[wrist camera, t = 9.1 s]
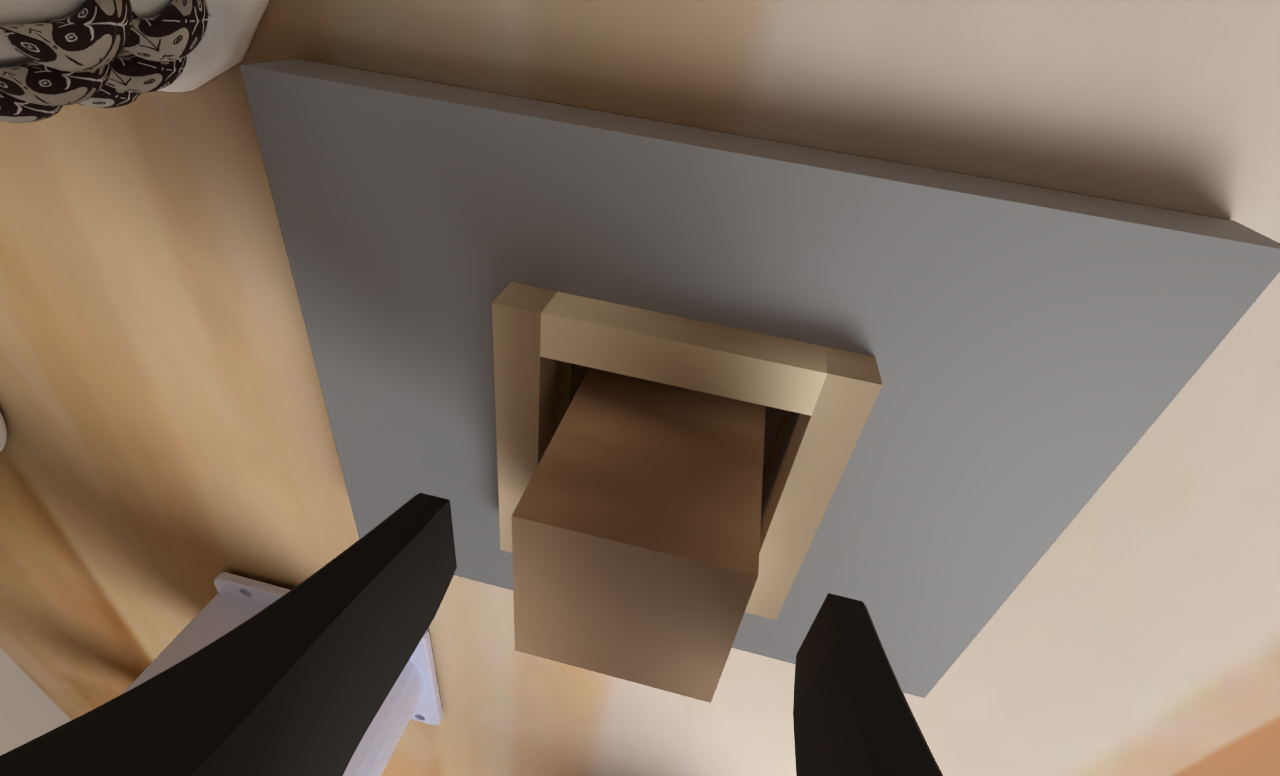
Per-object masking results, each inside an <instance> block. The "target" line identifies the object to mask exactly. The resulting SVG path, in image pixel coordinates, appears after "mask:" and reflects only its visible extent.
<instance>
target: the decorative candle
mask: <svg viewBox="0 0 1280 776" xmlns="http://www.w3.org/2000/svg"><path fill="white" fill-rule="evenodd" d="M269 1H270V0H0V121H4V122H13V123H27V122H36V121H40V120H43V119H46V118H49V117H51V116H53V115H55V114H57V113H58V112H59V111H60V110H61V108H62V107H63V106H65V105H72V104H75V103H78V104H81V105H85V106H89V107H95V108H115V107H120V106H124V105H127V104H129V103H131V102H133V101H135V100H136V98H137V97H138V96H139V95H140V94H141V93H146V92H153V91H167V92H187V91H193V90H195V89H197V88H198V87H200V86H202V85H203V84H205V83H207V82H208V81H210V80H212V79H213V78H215V77H217V76H218V75H220V74H221V73H223V72H225V71H226V70H228V69H230V68H231V67H233V66H235V65H236V64H238V63H240V62H241V61H243V59H244V57H245V55H246V52H247V50H248V48H249V46H250V43H251V41H252V39H253V37H254V35H255V32H256V30H257V28H258V26H259V23H260V21H261V19H262V17H263V14H264V12H265V10H266V8H267V6H268V3H269Z"/></svg>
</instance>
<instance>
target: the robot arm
mask: <svg viewBox="0 0 1280 776" xmlns="http://www.w3.org/2000/svg"><path fill="white" fill-rule="evenodd" d="M456 568H457V564H456V554H455V544H454V535H453V525H452V515H451V506H450V500H448V499H444V498H440V497H436V496H432V495H428V494H424V493H419V494H417V495H415V496H414V497H413V498H411V499H410V500H409V501H408V502H406V503H405V504H404V505H403V506H401V507H400V508H399V509H398V510H396V511H395V512H394V513H393V514H391V515H390V516H389V517H388V518H386V519H385V520H384V521H382V522H381V523H380V524H379V525H377V526H376V527H375V528H374V529H372V530H371V531H370V532H369V533H367V534H366V535H365V536H363V537H362V538H361V539H360V540H358V541H357V542H356V543H354V544H353V545H352V546H351V547H349V548H348V549H347V550H345V551H344V552H343V553H341V554H340V555H339V556H337V557H336V558H335V559H333V560H332V561H331V562H329V563H328V564H326V565H325V566H324V567H322V568H321V569H320V570H318V571H317V572H316V573H314V574H313V575H312V576H310V577H309V578H308V579H306V580H305V581H303V582H302V583H301V584H299V585H298V586H296V587H295V588H293V589H292V590H290V589H286V588H282V587H279V586H275V585H271V584H268V583H264V582H260V581H257V580H253V579H249V578H246V577H242V576H238V575H235V574H231V573H226V572H223V573H220V574H219V575H218V576H217V577H216V578H215V579H214V585H215V587H216V589H217V591H218V593H217V594H216V596H215V597H214V598H213V599H212V600H211V601H210V602H209V603H208V604H207V605H206V606H205V607H204V608H203V609H202V610H201V611H200V612H199V613H198V614H197V616H196V617H195V618H194V619H193V620H192V621H191V622H190V623H189V624H188V625H187V626H186V627H185V628H184V629H183V630H182V631H181V632H180V633H179V635H178V636H177V637H176V638H175V639H174V640H173V641H172V642H171V643H170V644H169V645H168V646H167V647H166V648H165V649H164V650H163V651H162V652H161V653H160V655H159V656H158V657H157V658H156V659H155V660H154V661H153V662H152V663H151V664H150V665H149V666H148V667H147V668H146V669H145V670H144V671H143V672H142V673H141V675H140V676H139V677H138V678H137V679H136V680H135V681H134V682H133V683H132V684H131V685H130V686H129V687H128V688H127V689H126V690H125V691H124V692H123V694H122V695H120V696H118V697H116V698H114V699H112V700H111V701H109V702H107V703H105V704H103V705H101V706H99V707H97V708H96V709H94V710H92V711H90V712H88V713H86V714H84V715H82V716H80V717H78V718H76V719H74V720H72V721H70V722H68V723H66V724H64V725H62V726H60V727H58V728H56V729H54V730H52V731H50V732H48V733H46V734H44V735H42V736H40V737H38V738H36V739H34V740H32V741H30V742H28V743H26V744H24V745H22V746H20V747H18V748H15V749H14V750H11V751H9V752H7V753H5V754H3V755H1V756H0V776H381V775H382V773H383V771H384V769H385V767H386V765H387V763H388V761H389V760H390V758H391V756H392V754H393V752H394V750H395V748H396V746H397V744H398V742H399V740H400V738H401V736H402V734H403V732H404V730H405V729H406V727H407V725H408V723H409V721H410V719H413V720H416V721H420V722H423V723H427V724H430V725H438V724H440V722H441V719H442V717H443V713H442V707H441V701H440V695H439V689H438V683H437V678H436V672H435V666H434V660H433V654H432V648H431V642H430V636H429V633H428V631H427V629H428V627H429V625H430V624H431V622H432V620H433V619H434V617H435V615H436V612H437V610H438V608H439V606H440V604H441V602H442V600H443V597H444V595H445V593H446V591H447V589H448V586H449V584H450V582H451V579H452V577H453V575H454V573H455V570H456ZM793 716H794V736H795V754H796V771H797V776H943V775H942V773H941V771H940V769H939V767H938V765H937V763H936V761H935V759H934V757H933V755H932V753H931V751H930V749H929V747H928V745H927V743H926V741H925V739H924V736H923V734H922V732H921V730H920V728H919V726H918V724H917V722H916V720H915V718H914V716H913V714H912V712H911V709H910V707H909V705H908V703H907V701H906V699H905V696H904V694H903V692H902V690H901V688H900V685H899V683H898V681H897V679H896V676H895V674H894V672H893V670H892V667H891V665H890V663H889V660H888V658H887V656H886V653H885V651H884V649H883V646H882V644H881V641H880V639H879V637H878V634H877V632H876V629H875V627H874V624H873V622H872V619H871V617H870V614H869V612H868V609H867V607H866V606H865V604H864V603H863V601H859V600H855V599H851V598H847V597H843V596H838V595H834V594H830V593H828V594H827V596H826V598H825V600H824V602H823V604H822V606H821V608H820V610H819V612H818V614H817V616H816V618H815V620H814V622H813V623H812V625H811V627H810V629H809V631H808V633H807V635H806V637H805V639H804V641H803V643H802V645H801V647H800V649H799V650H798V652H797V654H796V668H795V686H794V710H793Z"/></svg>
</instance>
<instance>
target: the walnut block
mask: <svg viewBox="0 0 1280 776" xmlns="http://www.w3.org/2000/svg"><path fill="white" fill-rule="evenodd" d="M765 411H766V406H764V405H759V404H755V403H750V402H746V401H741V400H737V399H732V398H727V397H723V396H718V395H714V394H709V393H705V392H700V391H695V390H691V389H686V388H682V387H677V386H673V385H668V384H663V383H659V382H654V381H650V380H645V379H641V378H636V377H631V376H627V375H622V374H618V373H613V372H609V371H604V370H599V369H595V368H590V367H589V369H588V371H587V373H586V375H585V377H584V379H583V381H582V382H581V384H580V386H579V388H578V390H577V392H576V394H575V396H574V398H573V400H572V402H571V403H570V405H569V407H568V409H567V411H566V413H565V415H564V417H563V419H562V421H561V423H560V424H559V426H558V428H557V430H556V432H555V434H554V436H553V438H552V440H551V442H550V443H549V445H548V447H547V449H546V451H545V453H544V455H543V457H542V459H541V461H540V463H539V464H538V466H537V468H536V470H535V472H534V474H533V476H532V478H531V480H530V482H529V483H528V485H527V487H526V489H525V491H524V493H523V495H522V497H521V499H520V501H519V503H518V504H517V506H516V508H515V510H514V512H513V514H512V552H513V588H514V624H515V650H516V651H520V652H524V653H528V654H531V655H535V656H539V657H542V658H546V659H550V660H554V661H557V662H561V663H565V664H569V665H572V666H576V667H580V668H584V669H587V670H591V671H595V672H598V673H602V674H606V675H610V676H613V677H617V678H621V679H625V680H628V681H632V682H636V683H639V684H643V685H647V686H651V687H654V688H658V689H662V690H666V691H669V692H673V693H677V694H680V695H684V696H688V697H692V698H695V699H699V700H703V701H707V702H710V703H711V700H712V698H713V695H714V692H715V690H716V687H717V684H718V682H719V679H720V676H721V674H722V671H723V668H724V666H725V663H726V660H727V658H728V655H729V652H730V650H731V647H732V644H733V642H734V639H735V636H736V634H737V631H738V628H739V626H740V623H741V621H742V618H743V615H744V613H745V610H746V607H747V605H748V602H749V599H750V597H751V594H752V591H753V589H754V586H755V583H756V581H757V578H758V571H759V548H760V525H761V502H762V479H763V456H764V433H765Z"/></svg>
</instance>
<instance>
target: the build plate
mask: <svg viewBox="0 0 1280 776" xmlns="http://www.w3.org/2000/svg"><path fill="white" fill-rule="evenodd" d="M239 66H240V70H241V74H242V78H243V82H244V86H245V90H246V94H247V97H248V101H249V105H250V109H251V113H252V117H253V121H254V125H255V129H256V133H257V137H258V141H259V145H260V149H261V153H262V157H263V161H264V164H265V168H266V172H267V176H268V180H269V184H270V188H271V192H272V196H273V200H274V204H275V208H276V212H277V216H278V220H279V224H280V228H281V231H282V235H283V239H284V243H285V247H286V251H287V255H288V259H289V263H290V267H291V271H292V275H293V279H294V283H295V287H296V291H297V295H298V298H299V302H300V306H301V310H302V314H303V318H304V322H305V326H306V330H307V334H308V338H309V342H310V346H311V350H312V354H313V358H314V362H315V365H316V369H317V373H318V377H319V381H320V385H321V389H322V393H323V397H324V401H325V405H326V409H327V413H328V417H329V421H330V425H331V429H332V432H333V436H334V440H335V444H336V448H337V452H338V456H339V460H340V464H341V468H342V472H343V476H344V480H345V484H346V488H347V492H348V496H349V500H350V503H351V507H352V511H353V515H354V519H355V523H356V527H357V531H358V535H359V539H361V538H362V537H363V536H365V535H366V534H367V533H369V532H370V531H371V530H372V529H374V528H375V527H376V526H377V525H379V524H380V523H381V522H382V521H384V520H385V519H386V518H388V517H389V516H390V515H391V514H393V513H394V512H395V511H396V510H398V509H399V508H400V507H401V506H403V505H404V504H405V503H406V502H408V501H409V500H410V499H411V498H413V497H414V496H415V495H417V494H419V493H424V494H428V495H432V496H436V497H440V498H444V499H448V500H450V506H451V515H452V525H453V535H454V544H455V554H456V564H457V568H456V570H455V573H454V575H457V576H460V577H464V578H468V579H472V580H476V581H480V582H483V583H487V584H491V585H495V586H499V587H502V588H506V589H510V590H514V588H513V552H512V514H513V512H514V510H515V508H516V506H517V504H518V503H519V501H520V499H521V497H522V495H523V493H524V491H525V489H526V487H527V485H528V483H529V482H530V480H531V478H532V476H533V474H534V472H535V470H536V468H537V466H538V464H539V463H540V461H541V459H542V457H543V455H544V453H545V451H546V449H547V447H548V445H549V443H550V442H551V440H552V438H553V436H554V434H555V432H556V430H557V428H558V426H559V424H560V423H561V421H562V419H563V417H564V415H565V413H566V411H567V409H568V407H569V405H570V395H571V379H572V364H577V365H581V366H586V367H590V368H595V369H599V370H604V371H609V372H613V373H618V374H622V375H627V376H631V377H636V378H641V379H645V380H650V381H654V382H659V383H663V384H668V385H673V386H677V387H682V388H686V389H691V390H695V391H700V392H705V393H709V394H714V395H718V396H723V397H727V398H732V399H737V400H741V401H746V402H750V403H755V404H759V405H764V406H769V407H773V408H778V409H782V410H787V411H786V414H785V417H784V420H783V423H782V426H781V428H780V431H779V434H778V437H777V440H776V443H775V446H774V449H773V452H772V455H771V458H770V460H769V463H768V466H767V469H766V472H765V475H764V478H763V481H762V502H761V525H760V548H759V571H758V578H757V581H756V583H755V586H754V589H753V591H752V594H751V597H750V599H749V602H748V605H747V607H746V610H745V613H744V615H743V618H742V621H741V623H740V626H739V628H738V631H737V634H736V636H735V639H734V642H733V644H732V648H736V649H740V650H743V651H747V652H751V653H755V654H759V655H762V656H766V657H770V658H774V659H778V660H782V661H785V662H789V663H793V664H796V654H797V652H798V650H799V649H800V647H801V645H802V643H803V641H804V639H805V637H806V635H807V633H808V631H809V629H810V627H811V625H812V623H813V622H814V620H815V618H816V616H817V614H818V612H819V610H820V608H821V606H822V604H823V602H824V600H825V598H826V596H827V594H828V593H830V594H834V595H838V596H843V597H847V598H851V599H855V600H859V601H863V603H864V604H865V606H866V607H867V609H868V612H869V614H870V617H871V619H872V622H873V624H874V627H875V629H876V632H877V634H878V637H879V639H880V641H881V644H882V646H883V649H884V651H885V653H886V656H887V658H888V660H889V663H890V665H891V667H892V670H893V672H894V674H895V676H896V679H897V681H898V683H899V685H900V688H901V690H902V692H904V693H908V694H912V695H915V696H919V697H923V698H925V697H926V696H927V694H928V693H929V692H930V691H931V690H932V688H933V687H934V686H935V685H936V684H937V682H938V681H939V680H940V679H941V678H942V676H943V675H944V674H945V673H946V672H947V670H948V669H949V668H950V667H951V666H952V664H953V663H954V662H955V661H956V660H957V658H958V657H959V656H960V655H961V654H962V652H963V651H964V650H965V649H966V648H967V646H968V645H969V644H970V643H971V642H972V640H973V639H974V638H975V637H976V636H977V634H978V633H979V632H980V631H981V630H982V628H983V627H984V626H985V625H986V624H987V622H988V621H989V620H990V619H991V618H992V616H993V615H994V614H995V613H996V612H997V610H998V609H999V608H1000V607H1001V606H1002V604H1003V603H1004V602H1005V601H1006V600H1007V598H1008V597H1009V596H1010V595H1011V594H1012V592H1013V591H1014V590H1015V589H1016V588H1017V586H1018V585H1019V584H1020V583H1021V582H1022V580H1023V579H1024V578H1025V577H1026V576H1027V574H1028V573H1029V572H1030V571H1031V570H1032V568H1033V567H1034V566H1035V565H1036V564H1037V562H1038V561H1039V560H1040V559H1041V558H1042V556H1043V555H1044V554H1045V553H1046V552H1047V550H1048V549H1049V548H1050V547H1051V546H1052V544H1053V543H1054V542H1055V541H1056V540H1057V538H1058V537H1059V536H1060V535H1061V534H1062V532H1063V531H1064V530H1065V529H1066V528H1067V526H1068V525H1069V524H1070V523H1071V522H1072V520H1073V519H1074V518H1075V517H1076V516H1077V514H1078V513H1079V512H1080V511H1081V510H1082V508H1083V507H1084V506H1085V505H1086V504H1087V502H1088V501H1089V500H1090V499H1091V498H1092V496H1093V495H1094V494H1095V493H1096V492H1097V490H1098V489H1099V488H1100V487H1101V486H1102V484H1103V483H1104V482H1105V481H1106V480H1107V478H1108V477H1109V476H1110V475H1111V474H1112V472H1113V471H1114V470H1115V469H1116V468H1117V466H1118V465H1119V464H1120V463H1121V462H1122V460H1123V459H1124V458H1125V457H1126V456H1127V454H1128V453H1129V452H1130V451H1131V450H1132V448H1133V447H1134V446H1135V445H1136V444H1137V442H1138V441H1139V440H1140V439H1141V438H1142V436H1143V435H1144V434H1145V433H1146V432H1147V430H1148V429H1149V428H1150V427H1151V426H1152V424H1153V423H1154V422H1155V421H1156V420H1157V418H1158V417H1159V416H1160V415H1161V414H1162V412H1163V411H1164V410H1165V409H1166V408H1167V406H1168V405H1169V404H1170V403H1171V401H1172V400H1173V399H1174V398H1175V397H1176V395H1177V394H1178V393H1179V392H1180V391H1181V389H1182V388H1183V387H1184V386H1185V385H1186V383H1187V382H1188V381H1189V380H1190V379H1191V377H1192V376H1193V375H1194V374H1195V373H1196V371H1197V370H1198V369H1199V368H1200V367H1201V365H1202V364H1203V363H1204V362H1205V361H1206V359H1207V358H1208V357H1209V356H1210V355H1211V353H1212V352H1213V351H1214V350H1215V349H1216V347H1217V346H1218V345H1219V344H1220V343H1221V341H1222V340H1223V339H1224V338H1225V337H1226V335H1227V334H1228V333H1229V332H1230V331H1231V329H1232V328H1233V327H1234V326H1235V325H1236V323H1237V322H1238V321H1239V320H1240V319H1241V317H1242V316H1243V315H1244V314H1245V313H1246V311H1247V310H1248V309H1249V308H1250V307H1251V305H1252V304H1253V303H1254V302H1255V301H1256V299H1257V298H1258V297H1259V296H1260V295H1261V293H1262V292H1263V291H1264V290H1265V289H1266V287H1267V286H1268V285H1269V284H1270V283H1271V281H1272V280H1273V279H1274V278H1275V277H1276V275H1277V274H1278V273H1279V272H1280V243H1278V242H1276V241H1274V240H1272V239H1270V238H1268V237H1266V236H1264V235H1262V234H1260V233H1258V232H1256V231H1253V230H1251V229H1249V228H1247V227H1245V226H1243V225H1241V224H1239V223H1237V222H1235V221H1232V220H1226V219H1220V218H1214V217H1209V216H1203V215H1197V214H1191V213H1186V212H1180V211H1174V210H1168V209H1162V208H1157V207H1151V206H1145V205H1139V204H1134V203H1128V202H1122V201H1116V200H1111V199H1105V198H1099V197H1093V196H1087V195H1082V194H1076V193H1070V192H1064V191H1059V190H1053V189H1047V188H1041V187H1035V186H1030V185H1024V184H1018V183H1012V182H1007V181H1001V180H995V179H989V178H983V177H978V176H972V175H966V174H960V173H955V172H949V171H943V170H937V169H932V168H926V167H920V166H914V165H908V164H903V163H897V162H891V161H885V160H880V159H874V158H868V157H862V156H856V155H851V154H845V153H839V152H833V151H828V150H822V149H816V148H810V147H804V146H799V145H793V144H787V143H781V142H776V141H770V140H764V139H758V138H753V137H747V136H741V135H735V134H729V133H724V132H718V131H712V130H706V129H701V128H695V127H689V126H683V125H677V124H672V123H666V122H660V121H654V120H649V119H643V118H637V117H631V116H625V115H620V114H614V113H608V112H602V111H597V110H591V109H585V108H579V107H574V106H568V105H562V104H556V103H550V102H545V101H539V100H533V99H527V98H522V97H516V96H510V95H504V94H498V93H493V92H487V91H481V90H475V89H470V88H464V87H458V86H452V85H446V84H441V83H435V82H429V81H423V80H418V79H412V78H406V77H400V76H395V75H389V74H383V73H377V72H371V71H366V70H360V69H354V68H348V67H343V66H337V65H331V64H325V63H319V62H314V61H308V60H302V59H296V58H294V59H286V60H278V61H270V62H262V63H254V64H246V65H239Z"/></svg>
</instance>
